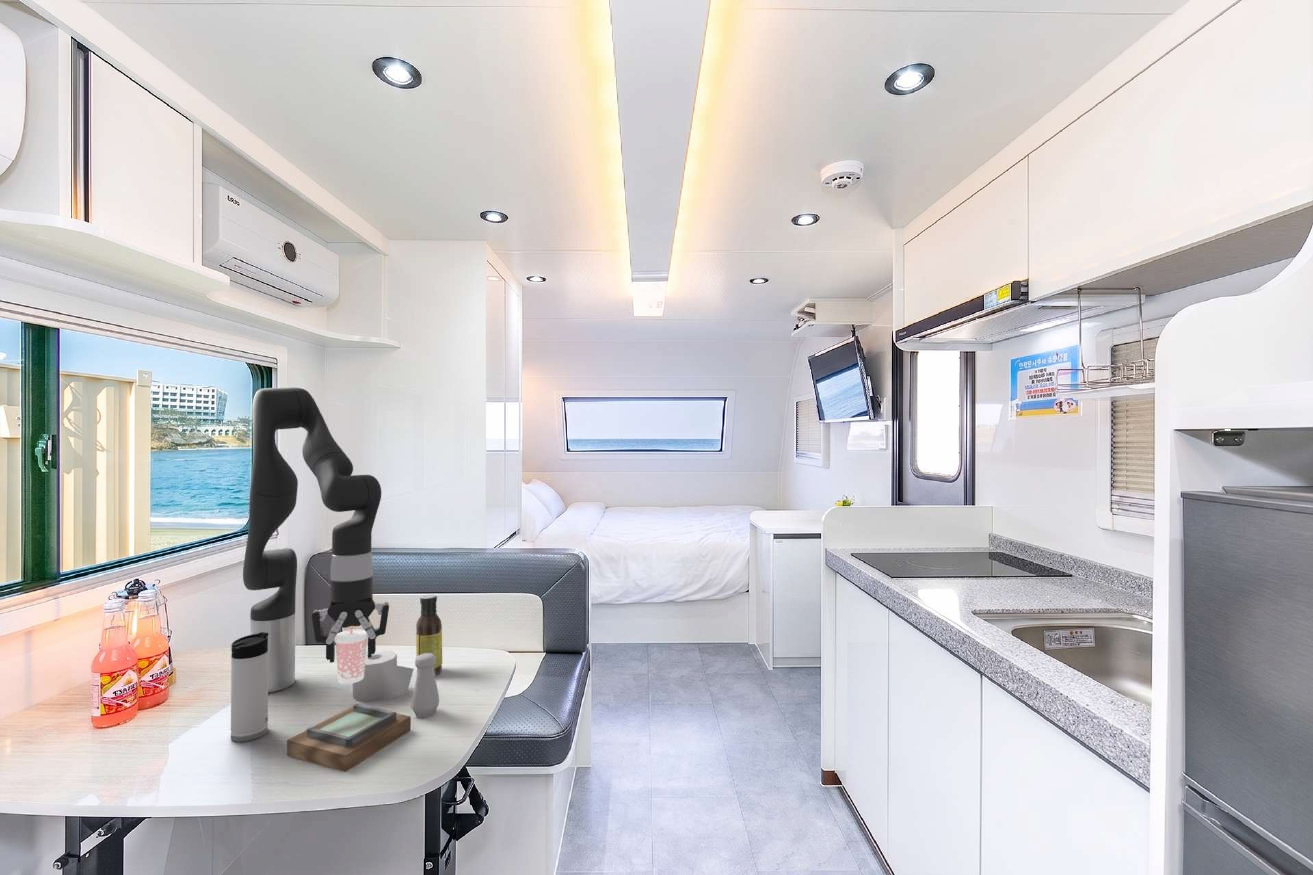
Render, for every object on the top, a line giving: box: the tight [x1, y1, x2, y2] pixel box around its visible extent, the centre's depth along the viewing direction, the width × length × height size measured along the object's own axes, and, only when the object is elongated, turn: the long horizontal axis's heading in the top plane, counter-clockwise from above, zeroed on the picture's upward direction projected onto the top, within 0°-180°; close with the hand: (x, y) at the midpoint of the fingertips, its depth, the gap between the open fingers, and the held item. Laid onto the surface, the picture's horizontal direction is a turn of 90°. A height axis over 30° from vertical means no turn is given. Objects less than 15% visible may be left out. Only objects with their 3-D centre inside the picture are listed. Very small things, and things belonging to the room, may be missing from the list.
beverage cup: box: [334, 626, 369, 685], centre depth 117 cm, size 6×6×14 cm
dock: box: [286, 703, 412, 772], centre depth 117 cm, size 15×16×4 cm
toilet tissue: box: [352, 649, 415, 703], centre depth 141 cm, size 9×13×9 cm
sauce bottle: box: [415, 594, 443, 676], centre depth 152 cm, size 6×6×20 cm
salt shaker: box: [410, 653, 440, 719], centre depth 130 cm, size 6×6×13 cm
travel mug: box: [230, 632, 269, 743], centre depth 120 cm, size 6×7×20 cm
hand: (351, 658), depth 117 cm, fingers closed on beverage cup, 6 cm apart
